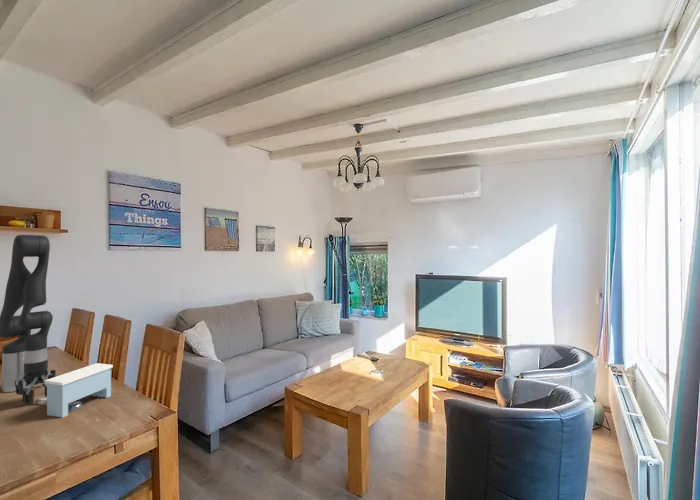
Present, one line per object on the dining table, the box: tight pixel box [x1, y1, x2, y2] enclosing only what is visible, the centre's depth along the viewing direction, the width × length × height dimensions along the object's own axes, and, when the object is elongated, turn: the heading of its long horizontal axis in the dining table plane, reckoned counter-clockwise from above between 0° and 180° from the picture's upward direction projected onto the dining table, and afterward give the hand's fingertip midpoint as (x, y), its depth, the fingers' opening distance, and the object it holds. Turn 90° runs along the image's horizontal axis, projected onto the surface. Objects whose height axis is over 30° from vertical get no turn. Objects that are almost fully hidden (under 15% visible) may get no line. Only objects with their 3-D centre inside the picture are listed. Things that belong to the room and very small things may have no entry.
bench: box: [45, 362, 114, 418], centre depth 143 cm, size 9×21×14 cm, turn 165°
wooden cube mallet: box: [27, 385, 47, 406], centre depth 144 cm, size 16×4×6 cm, turn 75°
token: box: [68, 400, 83, 412], centre depth 140 cm, size 5×5×2 cm
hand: (36, 399), depth 146 cm, fingers open, 6 cm apart
